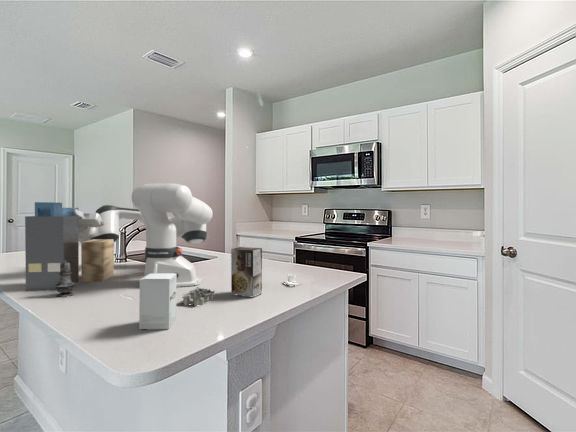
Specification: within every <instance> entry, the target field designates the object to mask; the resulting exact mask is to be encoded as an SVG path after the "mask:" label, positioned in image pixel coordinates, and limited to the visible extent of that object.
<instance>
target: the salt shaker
mask: <svg viewBox="0 0 576 432" xmlns="http://www.w3.org/2000/svg"><path fill="white" fill-rule="evenodd" d="M71 273H72V272H70V263H68V262H66V260H64V262H63V263H61V264H60V273H59V275H60V281H59V283H58V284H56V285H55V287H56V290H55V291H56V292H58V293H57V294H56V295H55V297H56V298H68V297H67V296H69V297H72V295H73V296H74V295H75V294H76V293H75V292H73V290H74V289H75V287H76V284H77V283H73V282H72V281H71Z"/></svg>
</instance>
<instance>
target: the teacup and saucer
mask: <svg viewBox="0 0 576 432" xmlns="http://www.w3.org/2000/svg"><path fill="white" fill-rule="evenodd" d="M287 282H288V283H285V285H286V284H287V285H295V284H296V285H297V283H292V282H296V274H294V273H288V274H287ZM296 285H295V286H296Z"/></svg>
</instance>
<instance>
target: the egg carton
mask: <svg viewBox="0 0 576 432" xmlns="http://www.w3.org/2000/svg"><path fill="white" fill-rule="evenodd" d="M214 294H215V290H213V291H212V290H211V289H210V288H209V289H208V288H205V287H204V288H201V287H198V286H197V287H196V288H194V289H193V290H189V291H188V292H186V293H182V294H181V299H183V300H182V301H183V302H182V303H184V304H183V305H184V306H186V305H188V306H190V305H189V304H194V305H195V306H194V305H193V306H194V307H196V306H197V305H203V304H205V303H204V302H208V303H209V301H210V300H209V299H213V300H214ZM203 306H204V305H203ZM197 307H198V306H197Z"/></svg>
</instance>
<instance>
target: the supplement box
mask: <svg viewBox="0 0 576 432" xmlns="http://www.w3.org/2000/svg"><path fill="white" fill-rule="evenodd" d="M138 309H139V313H138V315H139V317H138V318H139V320H138V322H139V323H138V324H139V327H138V328H139V330H142V329H147V330H169V329H170V328H171V327H172V325H173V323H174V322H175V321H176V320H177V287H176V273H157V274H148V275H147V276H145V277H144V276H142V278H140V279H139V308H138Z"/></svg>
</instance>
